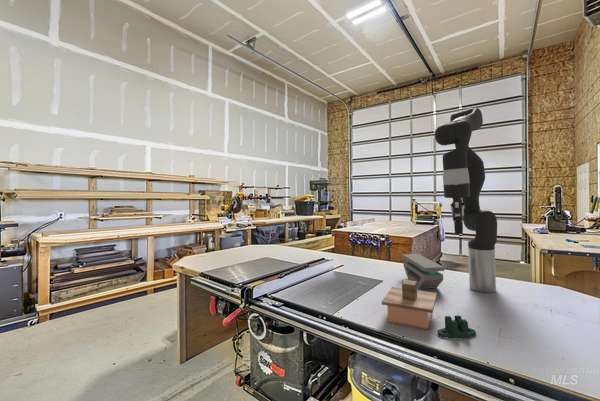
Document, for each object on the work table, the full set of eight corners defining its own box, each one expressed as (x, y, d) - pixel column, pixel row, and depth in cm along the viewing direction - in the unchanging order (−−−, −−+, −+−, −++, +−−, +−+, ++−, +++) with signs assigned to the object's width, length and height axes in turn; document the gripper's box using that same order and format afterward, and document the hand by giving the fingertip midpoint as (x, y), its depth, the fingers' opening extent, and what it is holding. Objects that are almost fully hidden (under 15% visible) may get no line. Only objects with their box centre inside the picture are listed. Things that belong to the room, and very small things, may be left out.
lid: (392, 289, 101) (391, 273, 100) (436, 295, 93) (436, 278, 93) (381, 304, 88) (380, 286, 88) (432, 313, 80) (431, 293, 80)
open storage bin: (395, 307, 99) (395, 291, 98) (432, 314, 92) (431, 296, 92) (387, 321, 88) (387, 303, 88) (428, 329, 82) (427, 310, 82)
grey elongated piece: (445, 293, 110) (444, 267, 110) (425, 294, 110) (425, 268, 110) (418, 275, 135) (417, 253, 135) (403, 275, 135) (402, 254, 135)
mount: (442, 340, 77) (441, 322, 76) (434, 332, 81) (433, 315, 81) (480, 338, 77) (479, 321, 77) (470, 330, 81) (469, 314, 81)
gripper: (444, 183, 97) (447, 228, 97) (441, 184, 85) (445, 235, 85) (469, 181, 93) (471, 228, 93) (469, 182, 81) (473, 235, 81)
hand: (459, 231), depth 89 cm, fingers open, 8 cm apart
